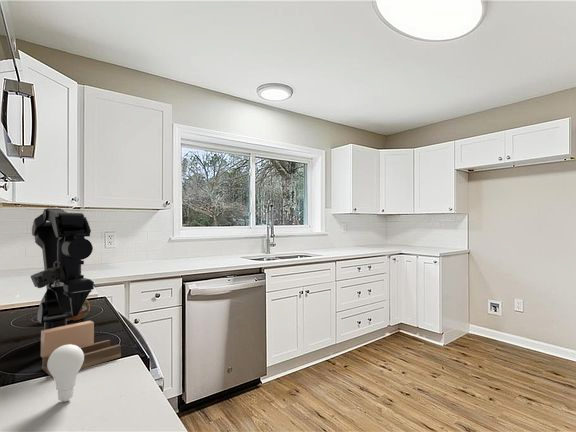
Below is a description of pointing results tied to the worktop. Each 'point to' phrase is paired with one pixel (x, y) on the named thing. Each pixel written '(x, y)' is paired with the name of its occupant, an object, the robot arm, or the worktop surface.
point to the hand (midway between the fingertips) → (68, 313)
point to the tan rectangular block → (67, 336)
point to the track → (93, 354)
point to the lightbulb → (65, 369)
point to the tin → (81, 311)
